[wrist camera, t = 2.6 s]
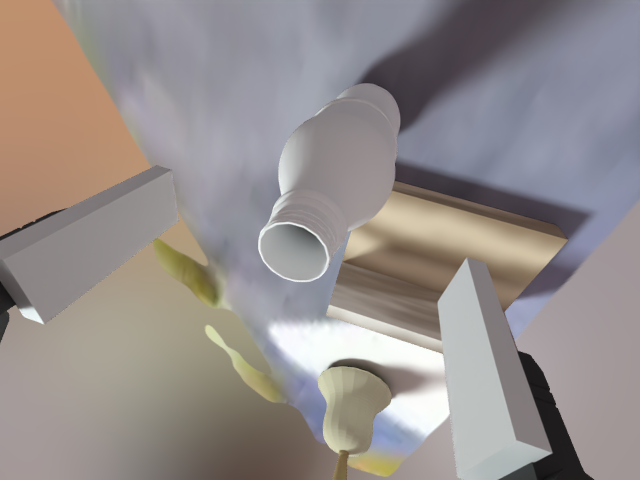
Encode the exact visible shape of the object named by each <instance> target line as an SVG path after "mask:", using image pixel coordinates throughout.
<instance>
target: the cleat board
mask: <svg viewBox="0 0 640 480" xmlns="http://www.w3.org/2000/svg"><path fill="white" fill-rule="evenodd" d="M567 241H568V239H567V237H566V236H565V235H564V234H563V232H562V231H561V230H560V229H559V227H558V226H557V225H554V224H550V223H546V222H543V221H539V220H536V219H532V218H528V217H525V216H521V215H517V214H514V213H510V212H507V211H503V210H499V209H496V208H492V207H488V206H485V205H481V204H478V203H474V202H470V201H467V200H463V199H460V198H456V197H452V196H449V195H445V194H441V193H438V192H434V191H431V190H427V189H423V188H420V187H416V186H412V185H409V184H405V183H402V182H398V181H394V184H393V188H392V191H391V193H390V196H389V198H388V200H387V201H386V203H385V205H384V206H383V208H382V209H381V210H380V211H379V212H378V213H377V215H376V216H374V217H373V218H372V219H371V220H369V221H368V222H367V223H365V224H363V225H361V226H359V227H358V228H355V229H353V230H352V231H351V234H350V237H349V241H348V244H347V247H346V250H345V254H344V257H343V260H342V264H341V267H340V270H339V274H338V277H337V280H336V284H335V287H334V290H333V294H332V297H331V300H330V304H329V307H328V310H327V314H326V316H329V317H332V318H335V319H338V320H341V321H344V322H347V323H350V324H354V325H357V326H360V327H363V328H366V329H369V330H372V331H375V332H378V333H381V334H384V335H387V336H390V337H393V338H396V339H399V340H402V341H405V342H408V343H411V344H414V345H417V346H420V347H423V348H427V349H430V350H433V351H436V352H439V353H442V354H443V347H442V338H441V329H440V320H439V311H438V301H439V299H440V298H441V296H442V294H443V293H444V291H445V290H446V288H447V287H448V285H449V284H450V282H451V281H452V279H453V277H454V276H455V274H456V273H457V271H458V270H459V268H460V267H461V265H462V264H463V262H464V260H465V259H466V257H467V258H471V259H474V260H477V261H481V262H484V263H486V265H487V268H488V271H489V274H490V276H491V279H492V282H493V285H494V288H495V291H496V293H497V296H498V299H499V302H500V305H501V308H502V311H503V313H504V312H505V311H506V309H507V308H508V307H509V306H510V305H511V304H512V303H513V302H514V300H515V299H516V298H517V297H518V296H519V295H520V294H521V293H522V292H523V290H524V289H525V288H526V287H527V286H528V285H529V284H530V283H531V282H532V280H533V279H534V278H535V277H536V276H537V275H538V274H539V273H540V271H541V270H542V269H543V268H544V267H545V266H546V265H547V264H548V263H549V261H550V260H551V259H552V258H553V257H554V256H555V255H556V254H557V252H558V251H559V250H560V249H561V248H562V247H563V246H564V245H565V244H566V242H567ZM504 316H505V313H504ZM505 319H506V322H507V325H508V328H509V330H510V327H509V324H508V321H507V318H506V316H505ZM510 333H511V330H510ZM511 336H512V339H513V342H514V345H515V347H516V344H515V341H514V338H513V335H512V333H511ZM516 350H517V347H516ZM517 351H518V350H517Z"/></svg>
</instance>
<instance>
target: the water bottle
mask: <svg viewBox="0 0 640 480" xmlns="http://www.w3.org/2000/svg"><path fill="white" fill-rule="evenodd" d="M399 129H400V113H399V108H398V105H397V103H396V101H395V99H394V98H393V96H392V95H391V94H390V93H389V92H388V91H387V90H385V89H384V88H382V87H379V86H377V85H375V84H370V83H363V84H358V85H354V86H352V87H350V88H348V89H346V90H345V91H343V92H342V93H341V94H340V95H339V96H338V97H337V98H336V100H334V101H331V102H330V103H328V104H327V105H325V106H324V107H323V108H322V109H321V110H319V111H318V112H317V113H316V115H315V116H314V117H312V118H311V119H309V120H307V121H305V122H304V123H303V124H301V125H300V126H299V127H298V128H297V129H296V130H295V131H294V132H293V134H292V135H291V136H290V138H289V139H288V141H287V143H286V144H285V147H284V149H283V152H282V155H281V157H280V163H279V184H280V190H281V195H282V196H281V197H280V198H279V199H278V200H277V202H276V203H275V205H274V207H273V210H272V215H271V218H270V220H269V222H268V223H267V224H266V226H265V227H264V228H263V229H262V231H261V232H260V237H259V246H258V250H259V252H260V255H261V257H262V260H263V262H264V263H265V264H266V265H267V266H268V267H269V268H270V269H271V271H273V272H274V273H276V274H278V275H279V276H281V277H282V278H285V279H288V280H291V281H295V282H310V281H312V280H315V279H318V278H320V277H321V276H322V275H323V274H324V272H325V271H326V270H327V269H328V267H329V265H330V263H331V261H332V258H333V254H335V252H336V251H337V250H338V249H339V248H340V247H341V245H342V244H343V243H344V241H345V238H346V235H347V231H350V230H353V229H355V228H358V227H359V226H361V225H363V224H365V223H367V222H368V221H369V220H371V219H372V218H373V217H374V216H376V215H377V213H378V212H379V211H380V210H381V209H382V208H383V206H384V205H385V203H386V201H387V200H388V198H389V196H390V193H391V191H392V188H393V184H394V180H395V161H396V157H397V141H396V138H397V135H398V132H399Z"/></svg>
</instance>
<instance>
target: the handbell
mask: <svg viewBox="0 0 640 480" xmlns="http://www.w3.org/2000/svg"><path fill="white" fill-rule="evenodd" d="M318 386H319V389H320V391H321V393H322V394H323V396H324V397H325V399H326V401H327V410H326V414H325V418H324V422H323V435H324V439H325V441H326V443H327V444H328V445H329V447H330V448H331V449H332V450H334V451H335V452H337V453H338V454H339V458H338V462H337V465H336V468H335V472H334V475H333V479H332V480H347V458H348V457H356V456H360V455H362V454H363V453H365V452H366V451H367V450H368V449H369V447H370V444H371V441H372V435H373V421H374V418H375V416H376V414H377V413H379V412H381V411H382V410H383V409H385V408H386V407H387V406H388V405H389V404H390V402H391V398H392V394H391V392H390V389H389V387H388V386H387V385H386V384H385V383H384V382H383V381H382V380H381V379H380V378H379V377H377V376H375V375H373V374H372V373H370V372H368V371H364V370H361V369H358V368H354V367H345V366H340V367H331V368H329V369H327V370H325V371H323V372H322V373H321V375H320V376H319V378H318Z"/></svg>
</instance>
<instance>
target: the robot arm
mask: <svg viewBox="0 0 640 480" xmlns="http://www.w3.org/2000/svg"><path fill="white" fill-rule="evenodd" d="M178 221H179V218H178V211H177V204H176V197H175V189H174V182H173V175H172V170H170V169H167V168H163V167H160V166H157V165H156V166H154V167H152V168H150V169H148V170H146V171H144V172H142V173H140V174H138V175H136V176H134V177H131V178H129V179H127V180H125V181H123V182H121V183H119V184H117V185H115V186H113V187H111V188H109V189H107V190H105V191H103V192H100V193H98V194H97V195H94V196H92V197H90V198H88V199H86V200H84V201H82V202H80V203H78V204H76V205H73V206H71V207H69V208H66V209H63V210H59V211H55V212H51V213H49V214H47V215H45V216H43V217H41V218H39V219H37V220H36V221H35V222H30V223H28V224H26V225H24V226H23V227H22V228H17V229H15V230H13V231H11V232H9V233H7V234H5V235H3V236H1V237H0V342H1V340H2V337H3V334H4V332H5V329H6V327H7V324H8V322H9V313H8V312H7V310H8V309H10V308H11V307H13V306H14V305H17V307H18V309H19V310H20V311H21V313H22V314H23V316H24V317H26V318H29V319H32V320H34V321H37V322H40V323H42V324H46V323H47V322H48V321H50V320H51V319H52V318H54V317H55V316H56V315H58V314H59V313H60V312H61V311H63V310H64V309H65V308H67V307H68V306H69V305H70V304H72V303H73V302H74V301H76V300H77V299H78V298H80V297H81V296H82V295H83V294H85V293H86V292H87V291H89V290H90V289H91V288H93V287H94V286H95V285H96V284H98V283H99V282H100V281H102V280H103V279H104V278H105V277H106V276H108V275H109V274H111V273H112V272H113V271H115V270H116V269H117V268H118V267H120V266H121V265H122V264H124V263H125V262H126V261H128V260H129V259H130V258H131V257H133V256H134V255H135V254H137V253H138V252H139V251H140V250H142V249H143V248H144V247H146V246H147V245H148V244H150V243H151V242H152V241H154V240H155V239H156V238H157V237H159V236H160V235H161V234H162V233H164V232H165V231H166V230H168V229H169V228H170V227H171V226H173V225H174V224H175V223H177V222H178ZM438 311H439V320H440V329H441V338H442V347H443V356H444V365H445V374H446V383H447V392H448V401H449V410H450V418H451V427H452V436H453V445H454V454H455V463H456V472H457V477H458V478H460V479H463V480H594V479H593V478H591V477H590V476H589V475H587V474H586V473H585V472H584V470H583V468H582V466H581V464H580V461H579V459H578V456H577V454H576V451H575V449H574V447H573V444H572V442H571V439H570V437H569V434H568V432H567V429H566V427H565V425H564V422H563V420H562V417H561V415H560V413H559V410H558V408H556V406H555V405H556V403H555V400H554V398H553V395H552V393H550V392H549V391H550V388H549V386H548V383H547V381H546V378H545V376H544V373H543V371H542V370H541V369H540V367H539V366H538V365H537V363H536V362H535V361H534V359H533V358H532V357H531V355H529V354H526V353H523V352H520V351H517V350H516V347H515V345H514V342H513V339H512V336H511V333H510V330H509V328H508V325H507V322H506V319H505V316H504V313H503V311H502V308H501V305H500V302H499V299H498V296H497V293H496V291H495V288H494V285H493V282H492V279H491V276H490V274H489V271H488V268H487V265H486V263H484V262H481V261H477V260H474V259H471V258H467V257H466V259H465V260H464V262H463V264H462V265H461V267H460V268H459V270H458V271H457V273H456V274H455V276H454V277H453V279H452V281H451V282H450V284H449V285H448V287H447V288H446V290H445V291H444V293H443V294H442V296H441V298H440V299H439V301H438Z"/></svg>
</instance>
